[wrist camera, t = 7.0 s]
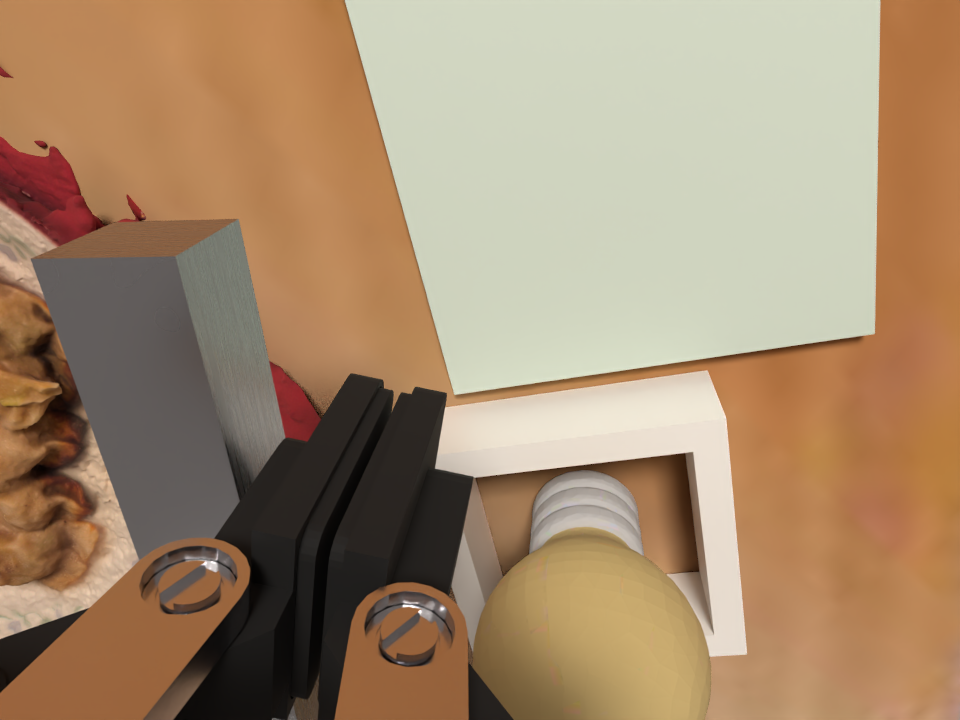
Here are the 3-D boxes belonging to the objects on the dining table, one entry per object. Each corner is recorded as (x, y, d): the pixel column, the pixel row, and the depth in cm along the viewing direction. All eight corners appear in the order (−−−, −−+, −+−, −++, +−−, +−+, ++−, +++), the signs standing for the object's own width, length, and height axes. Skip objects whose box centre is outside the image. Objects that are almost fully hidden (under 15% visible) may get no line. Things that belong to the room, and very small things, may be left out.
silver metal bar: (263, 218, 10) (205, 255, 8) (388, 847, 17) (369, 933, 15) (90, 222, 10) (2, 259, 9) (282, 836, 17) (253, 919, 16)
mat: (866, 325, 21) (874, 334, 20) (457, 386, 23) (454, 394, 23) (872, -195, 15) (883, -204, 15) (340, -39, 18) (333, -41, 17)
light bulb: (545, 400, 23) (529, 635, 14) (709, 475, 24) (792, 747, 15) (470, 527, 26) (417, 789, 17) (618, 592, 27) (641, 878, 18)
